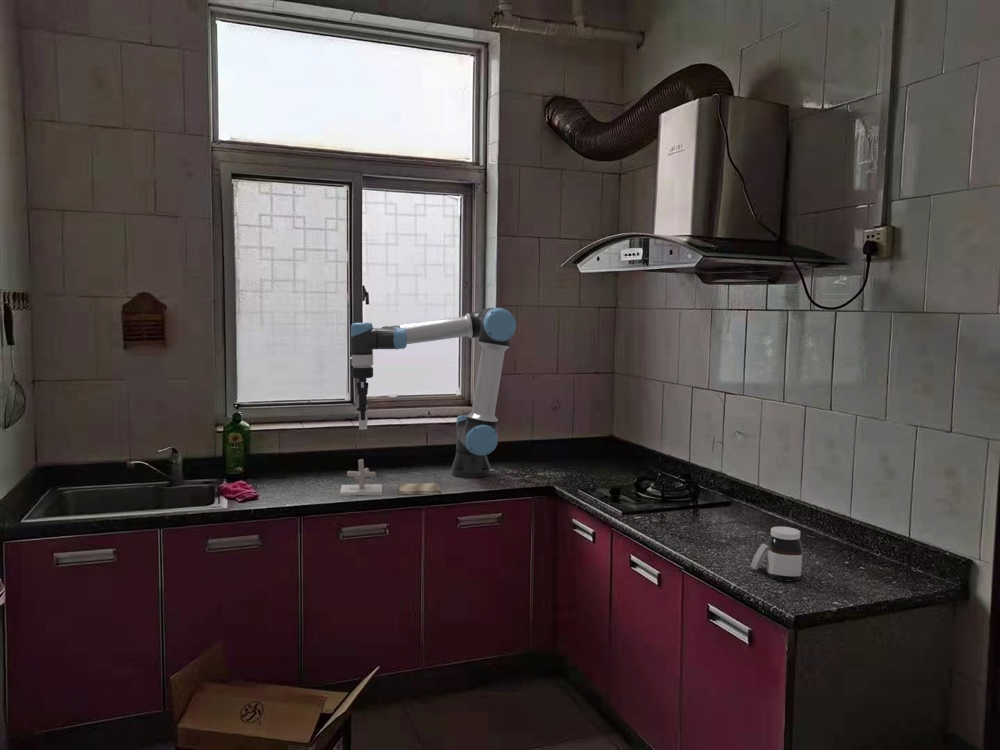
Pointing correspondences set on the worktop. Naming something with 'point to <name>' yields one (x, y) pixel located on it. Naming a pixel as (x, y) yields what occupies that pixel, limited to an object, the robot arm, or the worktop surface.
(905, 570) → the worktop surface
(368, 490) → the tile
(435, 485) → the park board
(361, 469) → the pipe connector
